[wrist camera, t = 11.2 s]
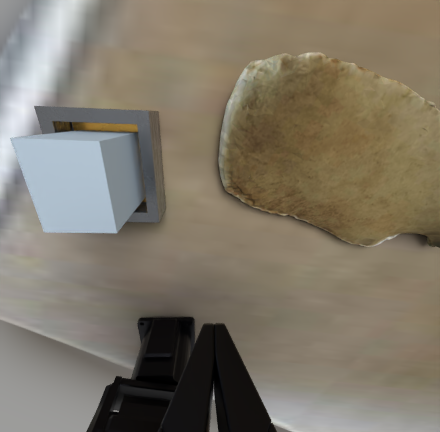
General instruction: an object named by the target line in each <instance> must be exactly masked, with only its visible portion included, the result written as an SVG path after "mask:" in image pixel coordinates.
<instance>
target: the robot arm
mask: <svg viewBox="0 0 440 432" xmlns="http://www.w3.org/2000/svg"><path fill="white" fill-rule="evenodd" d="M138 329H139V334H140V340H141V347H140V351H139V354H138V357H137V361H136V364H135V367H134V371H133V374H132V378H131V379H126V378H122V377H121V376H116V378H115V380H114V383H112V384H110V385H108V386H106V388H105V391H104V393H103V396H102V398H101V401H100V403H99V406H98V408H97V410H96V413H95V415H94V417H93V419H92V421H91V423H90V425H89V428H88V430H87V432H209V430H210V419H211V408H212V398H213V384H214V394H215V404H216V413H217V422H218V431H219V432H277V431H276V429H275V427H274V425H273V423H271V419H270V417H269V415H268V413H267V410H266V408H265V406H264V404H263V402H262V400H261V398H260V396H259V394H258V392H257V390H256V388H255V386H254V384H253V382H252V379H251V377H250V375H249V373H248V371H247V369H246V367H245V365H244V363H243V361H242V359H241V357H240V355H239V353H238V350H237V348H236V346H235V344H234V342H233V340H232V338H231V336H230V334H229V332H228V330H227V328H226V326H225V324H223V323H216V324H212V323H207V324H204V325H203V326H202V329H201V331H200V333H199V336H198V338H197V340H196V343H195V322H194V319H193V318H191V317H184V318H140V319H139V321H138ZM113 410H118V411H119V412H113Z"/></svg>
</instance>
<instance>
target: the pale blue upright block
mask: <svg viewBox="0 0 440 432" xmlns="http://www.w3.org/2000/svg"><path fill="white" fill-rule="evenodd" d="M10 139H11V142H12V145H13V147H14V150H15V153H16V156H17V159H18V161H19V164H20V167H21V170H22V172H23V175H24V178H25V181H26V183H27V186H28V189H29V192H30V195H31V197H32V200H33V203H34V206H35V208H36V211H37V214H38V217H39V219H40V222H41V225H42V228H43V230H44V232H64V233H118V231H119V230H120V229H121V227H122V226H123V225H124V224H125V222H126V221H127V220H128V219H129V217H130V216H131V215H132V214H133V212H134V211H135V210H136V208H137V207H138V206H139V205H140V203H141V202H142V201H143V200H144V198H145V197H146V196H145V187H144V179H143V170H142V161H141V153H140V145H139V136H138V132H118V131H92V130H78V131H69V132H60V133H51V134H42V135H33V136H24V137H15V138H10Z"/></svg>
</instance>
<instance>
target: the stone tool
mask: <svg viewBox="0 0 440 432" xmlns="http://www.w3.org/2000/svg"><path fill="white" fill-rule="evenodd" d="M435 107H436V106H435V104H434V103H433V102H430V101H427V100H424V98H423V97H420V96H419V95H418V94H417V93H416V92H414V91H412V90H411V89H410V88H408V87H407V86H405V85H404V84H402V83H400V82H398V81H395V80H391V79H388V78H384V77H382V76H380V75H378V74H376V73H374V72H372V71H370V70H368V69H365V68H362V67H359V66H357V65H356V64H355V63H347V62H343V61H340V60H338V59H329V58H328V57H327V56H326V55H324V54H322V53H320V52H315V53H305V54H301V55H298V56H291V55H289V54H285V53H284V54H280V55H276V56H273V57H271V58H269V59H267V60H255V61H251V62H250V63H249V65H248V66H247V67H246V68H245V69H244V71H243V72H242V74H241V76H240V77H239V79H238V81H237V83H236V86H235V88H234V90H233V92H232V94H231V97H230V99H229V101H228V104H227V106H226V110H225V115H224V120H223V125H222V129H221V137H220V147H219V158H218V162H219V170H220V176H221V180H222V183H223V185H224V188H225V190H226V191H227V192H228V193H231V194H233V196H235V197H238V198H239V199H240V200H241V201H242V202H244V203H247V204H248V205H249V206H251V207H254V208H258V209H260V210H262V211H265V212H269V213H273V214H280V215H281V216H286V215H290V216H294V217H295V218H296V219H299V220H304V221H306V222H308V223H311V224H313V225H314V226H318V227H320V228H322V229H324V230H326V231H328V232H330V233H331V234H333V235H335V236H337V237H338V238H340V239H342V240H343V241H346V242H349V243H351V244H360V245H361V246H365V247H372V246H376V245H378V244H380V243H382V242H383V241H385V240H390V239H392V238H395V237H396V236H397V235H399V234H402V233H417V234H422V235H426V236H427V237H428V238H427V244H428V245H429V246H431V247H435V246H436V247H440V111H439V110H438V109H437V108H435Z"/></svg>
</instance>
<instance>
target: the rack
mask: <svg viewBox="0 0 440 432" xmlns="http://www.w3.org/2000/svg"><path fill="white" fill-rule="evenodd" d="M34 107H35V110H36V114H37V117H38V120H39V124H40V127H41V130H42V134H51V133H60V132H69V131H78V130H92V131H118V132H138V136H139V145H140V153H141V161H142V170H143V179H144V187H145V196H146V197H145V198H144V200H143V201H142V202H141V203H140V205H139V206H138V207H137V208H136V210H135V211H134V212H133V214H132V215H131V216H130V217H129V219H128V220H127V221H126V222H160V220H161V218H162V215H163V213H164V211H165V209H166V202H165V190H164V177H163V164H162V151H161V139H160V126H159V113H158V111H142V110H117V109H93V108H69V107H44V106H34Z"/></svg>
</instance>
